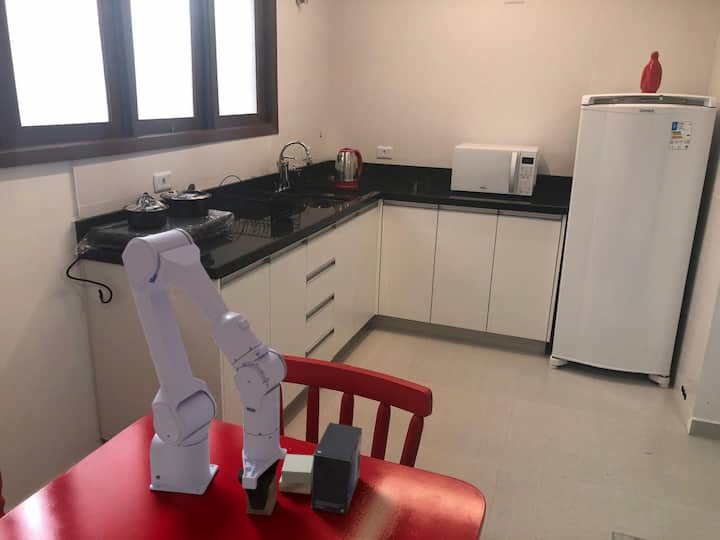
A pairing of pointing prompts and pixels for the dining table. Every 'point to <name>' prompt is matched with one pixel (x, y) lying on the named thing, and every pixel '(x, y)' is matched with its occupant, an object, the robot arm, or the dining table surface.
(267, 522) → the dining table surface
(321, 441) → the small box
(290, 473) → the tower top
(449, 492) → the dining table surface
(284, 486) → the tower base
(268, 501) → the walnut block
